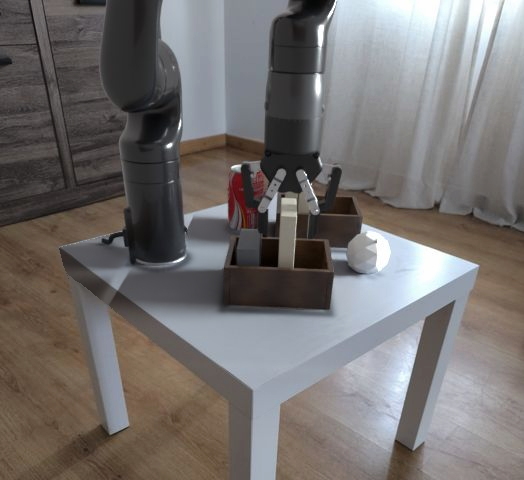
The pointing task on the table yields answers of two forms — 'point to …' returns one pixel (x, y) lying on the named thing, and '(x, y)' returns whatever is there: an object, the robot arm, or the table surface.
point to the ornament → (368, 252)
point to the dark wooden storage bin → (329, 221)
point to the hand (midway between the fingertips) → (287, 236)
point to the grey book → (249, 248)
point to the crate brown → (281, 276)
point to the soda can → (242, 200)
